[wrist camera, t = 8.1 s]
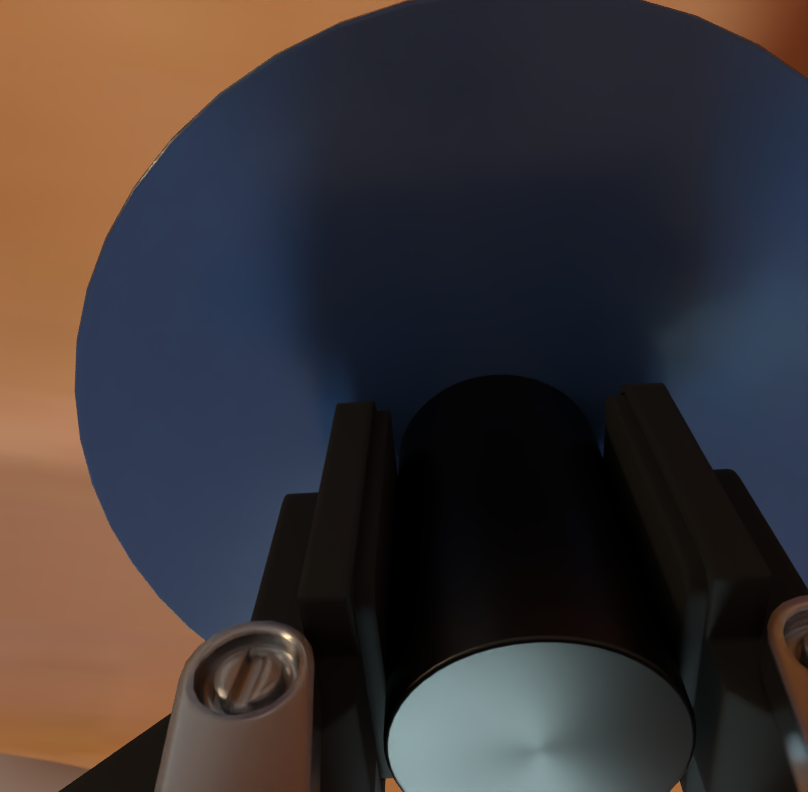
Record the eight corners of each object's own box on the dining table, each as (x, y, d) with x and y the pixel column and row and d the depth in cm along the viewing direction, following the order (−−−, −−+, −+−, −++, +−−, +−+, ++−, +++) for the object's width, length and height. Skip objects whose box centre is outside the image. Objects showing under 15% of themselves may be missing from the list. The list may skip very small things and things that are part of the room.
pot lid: (-34, 456, 13) (-340, 781, 8) (463, -289, 8) (529, -730, 3) (505, 772, 17) (540, 1135, 12) (1067, 387, 12) (1565, 715, 7)
